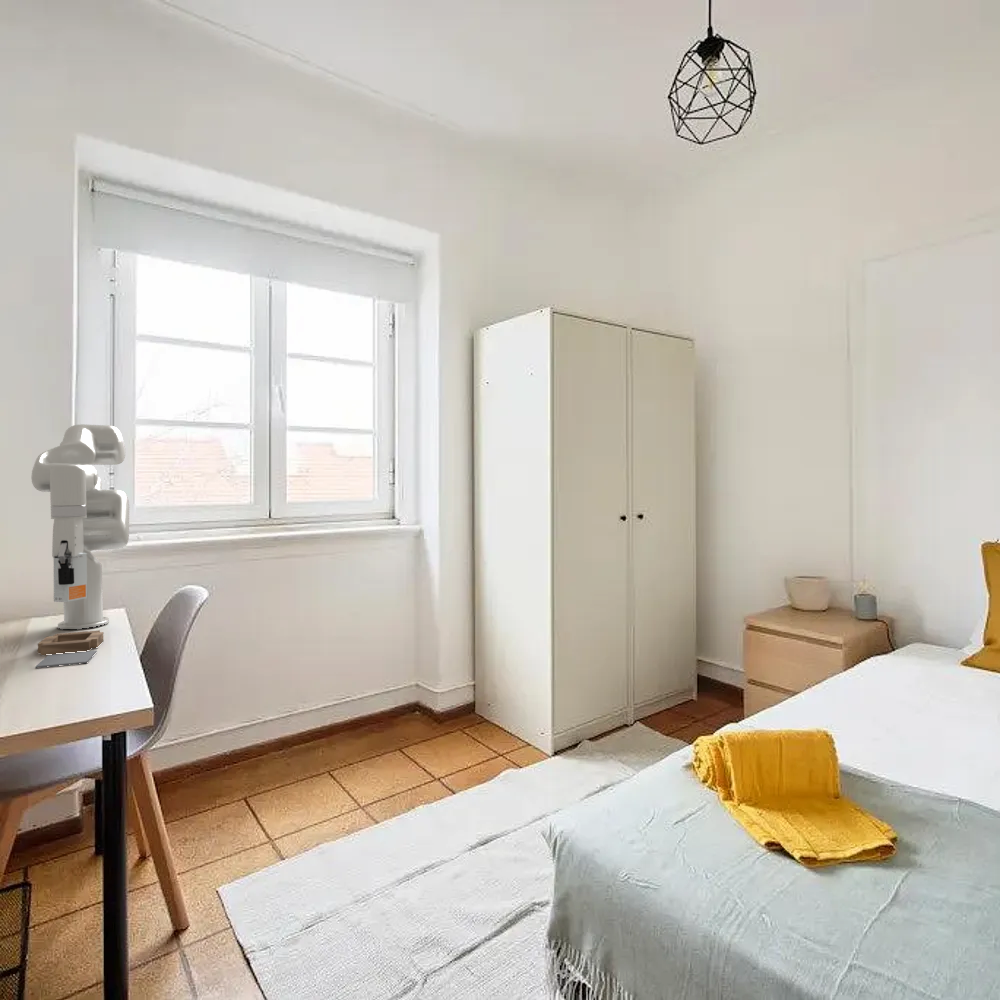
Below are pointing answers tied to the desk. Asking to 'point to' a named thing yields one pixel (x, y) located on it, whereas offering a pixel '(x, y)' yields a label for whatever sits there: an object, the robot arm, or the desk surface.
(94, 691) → the desk surface
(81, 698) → the desk surface
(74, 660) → the grey rubber mat
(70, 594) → the skincare box
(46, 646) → the box
